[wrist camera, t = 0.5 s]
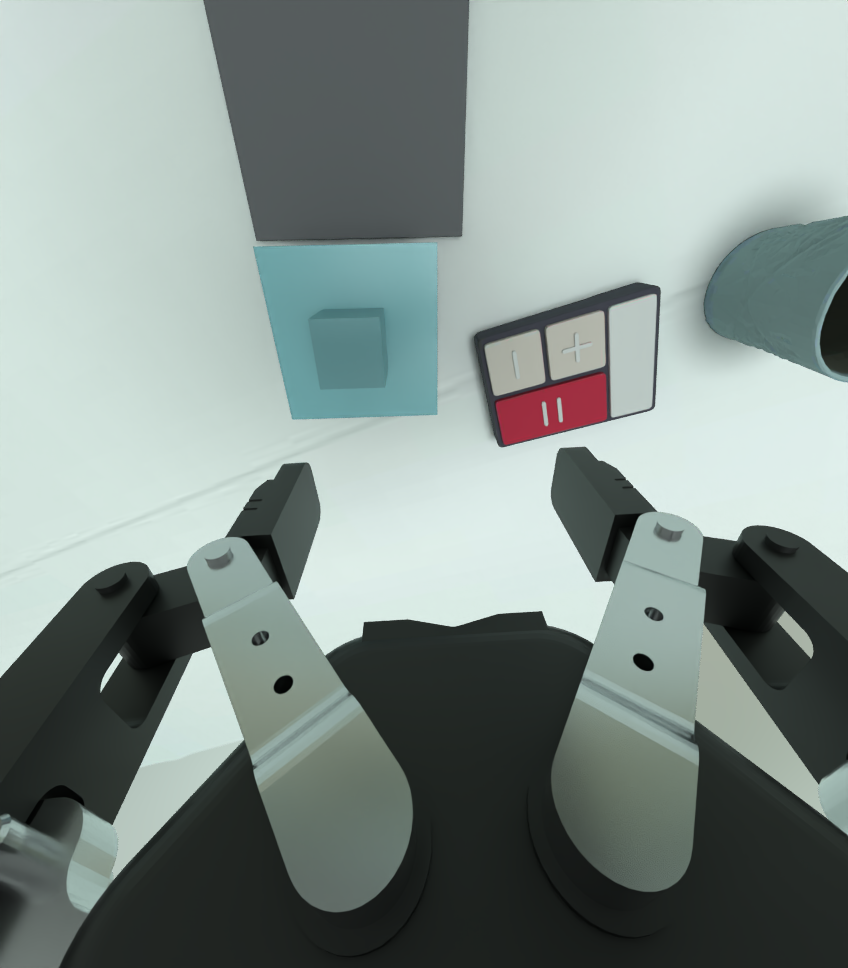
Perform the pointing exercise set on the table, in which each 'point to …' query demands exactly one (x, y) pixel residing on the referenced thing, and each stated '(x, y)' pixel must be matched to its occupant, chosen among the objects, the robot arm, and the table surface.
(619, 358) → the calculator
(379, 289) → the lid
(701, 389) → the table surface
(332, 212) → the mat
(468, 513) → the table surface
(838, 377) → the grey cup
